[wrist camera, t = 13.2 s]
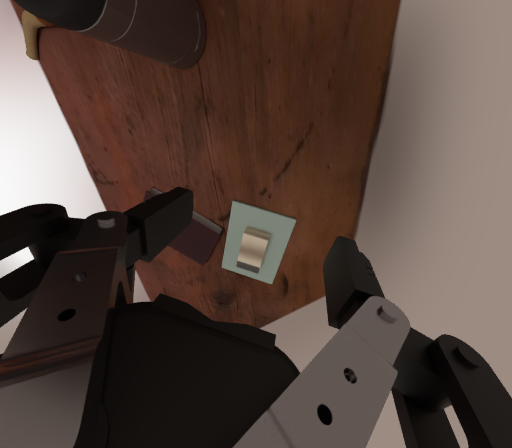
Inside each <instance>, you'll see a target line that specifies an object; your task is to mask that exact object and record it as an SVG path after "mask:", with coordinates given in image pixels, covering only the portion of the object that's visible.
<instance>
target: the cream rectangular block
mask: <svg viewBox="0 0 512 448" xmlns="http://www.w3.org/2000/svg"><path fill="white" fill-rule="evenodd" d="M270 234H271V233H268V232H264V231H261V230H258V229H255V228H252V227H248V226H247V227H246V229H245V231H244V233H243V237H242V242H241V246H240V251H239V256H238V260H237V265H236V267H239V268H242V269H245V270H248V271H251V272H254V273H257V274H258V273H259V269H260V266H261V263H262V260H263V256H264V253H265V250H266V247H267V243H268V240H269V237H270Z"/></svg>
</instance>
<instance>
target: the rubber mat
mask: <svg viewBox="0 0 512 448" xmlns="http://www.w3.org/2000/svg"><path fill="white" fill-rule="evenodd" d="M295 223H296V219H295V218H292V217H289V216H286V215H282V214H279V213H276V212H272V211H269V210H266V209H262V208H259V207H256V206H252V205H249V204H246V203H243V202H239V201H236V200H233V202H232V208H231V214H230V221H229V227H228V233H227V239H226V245H225V251H224V257H223V263H222V268H225V269H228V270H231V271H234V272H237V273H240V274H243V275H246V276H249V277H252V278H255V279H258V280H261V281H263V282H266V283H269V284H272V283H273V280H274V278H275V275H276V272H277V270H278V267H279V265H280V262H281V259H282V257H283V254H284V251H285V249H286V246H287V244H288V241H289V238H290V236H291V233H292V230H293V228H294V225H295ZM247 226H248V227H252V228H255V229H258V230H261V231H264V232H268V233H271V234H270V237H269V240H268V243H267V247H266V250H265V253H264V256H263V260H262V263H261V266H260V269H259V273H258V274H257V273H254V272H251V271H248V270H245V269H242V268H239V267H236V265H237V260H238V256H239V251H240V246H241V242H242V237H243V233H244V231H245V229H246V227H247Z"/></svg>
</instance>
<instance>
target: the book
mask: <svg viewBox="0 0 512 448" xmlns="http://www.w3.org/2000/svg"><path fill="white" fill-rule="evenodd" d="M161 193H162V192H161V191H159V190H157V189H156V188H154V187H152V190H151V191H149V192H148V191H146V193H145V197H144V201H146V200H148V199H150V198H152V197H153V196H155V195H157V194H161ZM144 201H143V203H144ZM222 232H223V228H222V227H221V226H219V225H217V224H215V223H214V222H212V221H210V220H209V219H207V218H205V217H203V216H202V215H200V214H198V213H196V212H194V211H193V216H192V220H191V223H190V224H189V226H188V227H187V228H186V229H184V230H183V231H182V232H181V233H180V234H179V235H178V236H177V237H176V238H175V239H174V240H173V241H172V242H171V243H170V244H168V246H170V247H172V248H173V249H175V250H177V251H179V252H180V253H182V254H184V255H185V256H187V257H189V258H191V259H192V260H194V261H196V262H198V263H199V264H201V265H203V266H204V265H205V264H206V262H207V261H208V258H209V256H210V255H211V253H212V251H213V249H214V247H215V245H216V244H217V242H218V239H219V238H220V236H221V234H222Z"/></svg>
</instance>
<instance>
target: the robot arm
mask: <svg viewBox="0 0 512 448" xmlns="http://www.w3.org/2000/svg"><path fill="white" fill-rule="evenodd" d="M13 1H15V2H16V3H17V4H18V5H20V6H21V7H22V8H23V9H25V10H26V11H28V12H29V13H31V14H32V15H34V16H36V17H38V18H40V19H42V20H44V21H47V22H49V23H51V24H54V25H57V26H60V27H63V28H66V29H68V30H72V31H75V32H77V33H80V34H83V35H86V36H89V37H91V38H94V39H97V40H100V41H103V42H106V43H109V44H112V45H114V46H117V47H120V48H123V49H125V50H128V51H131V52H134V53H137V54H139V55H142V56H145V57H148V58H151V59H153V60H156V61H159V62H161V63H164V64H167V65H170V66H173V67H176V68H179V69H186V68H189V67H191V66H193V65H194V64H195V63H196V62H197V61H198V60H199V59H200V57H201V55H202V53H203V50H204V46H205V40H206V27H205V21H204V17H203V14H202V11H201V9H200V7H199V5H198V3H197V2H196V0H13ZM193 197H194V195H193V191H192V190H188V189H185V188H182V187H176V188H174V189H173V190H171V191H169V192H166V193H161V194H157V195H155V196H153V197H152V198H150V199H148V200H146V201H144V203H140V204H138V205H137V206H135V207H133V208H131V209H129V210H127V211H125V212H123V213H121V212H117V211H104V212H98V213H95V214H92V215H90V216H89V217H87V218H86V219H79V218H69V217H68V214H67V212H66V209H65V207H63V206H61V205H58V204H36V205H31V206H27V207H24V208H21V209H18V210H15V211H12V212H9V213H7V214H4V215H1V216H0V260H2V259H4V258H6V257H8V256H10V255H12V254H14V253H16V252H18V251H20V250H22V249H24V248H26V247H29V249H30V251H31V253H32V255H33V257H34V260H32V261H30V262H28V263H26V264H25V265H23V266H21V267H19V268H18V269H16V270H14V271H12V272H11V273H9V274H7V275H5V276H4V277H2V278H0V327H2V326H3V325H4V324H6V323H7V322H8V321H10V320H11V319H13V318H14V317H15V316H17V315H18V314H19V313H20V312H22V311H23V310H25V309H26V308H27V307H28V308H27V310H26V312H25V314H24V316H23V318H22V319H21V321H20V323H19V325H18V327H17V329H16V331H15V333H14V335H13V337H12V339H11V341H10V342H9V344H8V346H7V348H6V350H5V352H4V353H3V354H0V448H366V445H367V443H368V441H369V439H370V436H371V434H372V432H373V429H374V427H375V425H376V422H377V420H378V418H379V416H380V413H381V411H382V409H383V407H384V404H385V402H386V399H387V397H388V395H389V392H390V391H392V394H393V398H394V402H395V406H396V410H397V414H398V418H399V421H400V425H401V429H402V433H403V437H404V441H405V445H406V448H460V446H459V444H458V442H457V439H456V437H455V435H454V432H453V430H452V427H451V425H450V423H449V420H448V418H447V415H446V413H445V411H444V408H446V407H448V406H450V405H452V406H453V408H454V411H455V412H456V415H457V417H458V419H459V422H460V424H461V426H462V428H463V430H464V433H465V435H466V437H467V440H468V445H469V448H512V398H511V396H510V395H509V393H508V392H507V391H506V389H505V388H504V386H503V385H502V383H501V382H500V380H499V379H498V377H497V376H496V374H495V373H494V371H493V370H492V369H491V367H490V366H489V364H488V363H487V362H486V361H485V360H484V358H483V357H481V355H480V354H479V353H477V352H476V351H475V350H474V349H473V348H472V347H470V346H469V345H468V344H466V343H465V342H463V341H462V340H460V339H458V338H456V337H454V336H451V335H446V334H444V335H441V336H439V337H438V338H437V339H435V340H432V339H430V338H429V337H426V336H425V335H423V334H422V333H420V332H418V331H416V330H414V329H413V328H411V327H410V323H409V320H408V318H407V317H406V316H405V314H404V313H403V312H402V311H401V310H400V309H399V308H398V307H397V306H396V305H395V304H393V303H392V302H390V301H389V300H387V299H385V297H384V294H383V292H382V290H381V287H380V285H379V282H378V280H377V278H376V277H375V273H374V271H373V268H372V266H371V263H370V261H369V260H368V259H367V258H366V257H365V255H364V254H363V253H361V252H359V250H358V247H357V245H356V242H355V241H354V240H351V239H348V238H345V237H342V236H338V237H337V238H336V240H335V242H334V244H333V246H332V247H331V249H330V251H329V253H328V255H327V257H326V259H325V261H324V265H323V274H324V284H325V294H326V303H327V313H328V323H329V326H332V327H334V328H337V329H339V331H338V332H337V333H336V334H335V336H333V338H332V339H331V340H330V341H329V342H328V343H327V344H326V346H325V347H324V348H323V349H322V350H321V351H320V352H319V353H318V354H317V355H316V357H315V358H314V359H313V360H312V361H311V362H310V363H309V364H308V366H307V367H306V368H305V369H304V370H303V371H302V372H301V373H300V372H299V370H298V369H297V367H296V366H295V365H294V363H293V362H292V361H291V360H290V359H289V358H288V356H287V355H286V354H285V353H284V352H282V351H281V350H280V349H279V348H278V347H276V346H275V338H276V335H275V334H272V333H269V332H267V331H264V330H261V329H259V328H256V327H253V326H250V325H247V324H239V323H228V322H217V321H213V320H211V319H209V318H208V317H207V316H205V315H204V314H202V313H201V312H199V311H198V310H197V309H195V308H194V307H192V306H191V305H190V304H188V303H186V302H183V301H180V300H178V299H175V298H172V297H169V296H166V295H164V294H161V293H160V294H159V295H158V297H157V298H156V299H155V300H154V302H137V303H133V294H134V281H135V262H136V261H137V260H139V259H140V260H143V261H146V262H150V261H151V260H152V259H153V258H155V257H156V256H157V255H158V254H159V253H160V252H161V251H162V250H163V249H164V248H165V247H166V246H167V245H168V244H170V243H171V242H172V241H173V240H174V239H175V238H176V237H177V236H178V235H179V234H180V233H181V232H182V231H183V230H184V229H186V228H187V227H188V226H189V224H190V223H191V220H192V216H193Z"/></svg>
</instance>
